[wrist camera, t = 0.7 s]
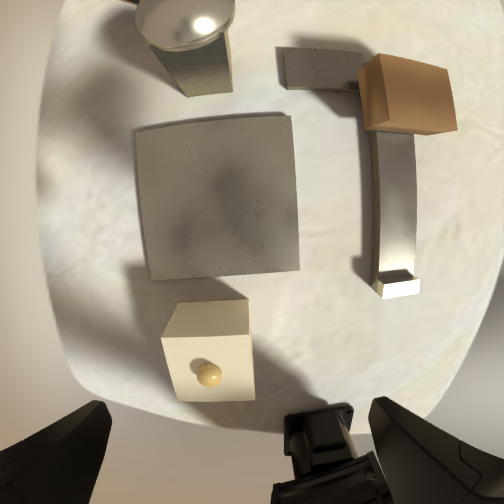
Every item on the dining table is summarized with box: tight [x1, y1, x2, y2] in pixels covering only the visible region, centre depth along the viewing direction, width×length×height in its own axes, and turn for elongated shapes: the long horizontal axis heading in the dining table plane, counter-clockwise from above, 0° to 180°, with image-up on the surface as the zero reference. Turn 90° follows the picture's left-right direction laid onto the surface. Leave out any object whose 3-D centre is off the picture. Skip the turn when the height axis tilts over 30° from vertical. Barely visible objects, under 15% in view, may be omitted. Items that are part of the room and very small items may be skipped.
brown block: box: [357, 53, 457, 136], centre depth 14 cm, size 4×5×4 cm
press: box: [135, 0, 420, 299], centre depth 14 cm, size 18×18×9 cm
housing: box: [161, 299, 255, 402], centre depth 18 cm, size 5×5×6 cm
